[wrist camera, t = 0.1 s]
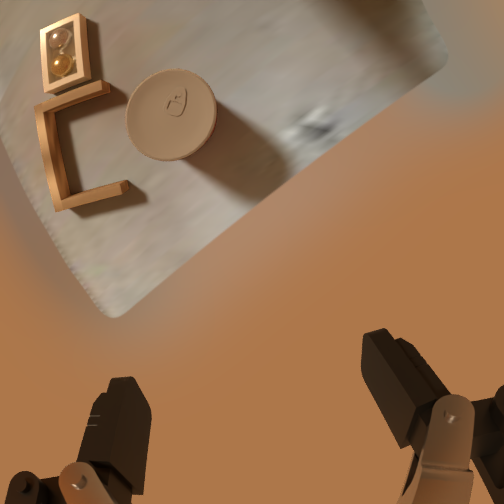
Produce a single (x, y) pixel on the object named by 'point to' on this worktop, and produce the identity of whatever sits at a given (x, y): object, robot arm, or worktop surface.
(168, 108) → the canned food
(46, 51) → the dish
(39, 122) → the birch holder
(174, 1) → the worktop surface
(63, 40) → the steel ball
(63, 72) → the brass ball
